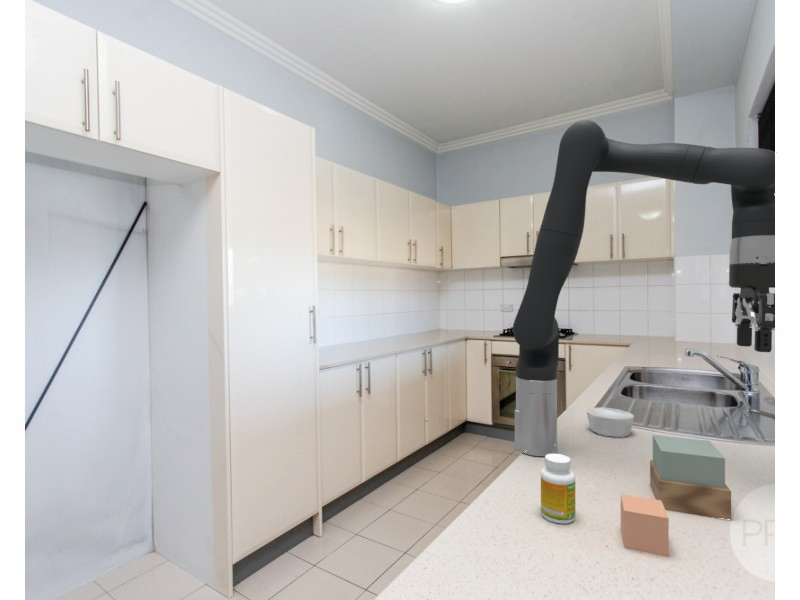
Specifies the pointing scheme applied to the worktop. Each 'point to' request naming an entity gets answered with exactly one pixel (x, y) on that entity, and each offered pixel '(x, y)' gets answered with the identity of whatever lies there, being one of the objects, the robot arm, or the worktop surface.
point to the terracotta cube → (644, 525)
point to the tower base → (691, 497)
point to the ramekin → (610, 421)
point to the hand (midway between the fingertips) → (753, 348)
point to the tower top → (688, 461)
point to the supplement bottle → (558, 489)
